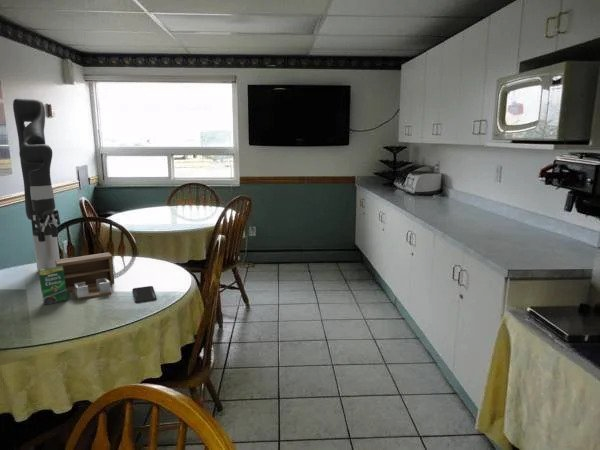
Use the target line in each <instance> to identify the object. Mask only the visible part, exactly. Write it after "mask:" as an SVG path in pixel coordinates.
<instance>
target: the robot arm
mask: <svg viewBox="0 0 600 450" xmlns="http://www.w3.org/2000/svg"><path fill="white" fill-rule="evenodd" d="M12 107H13V108H12V109H13V110H12V111H13V115H14V116H13V117H14V120H15V126H16V132H17V138H18V139H17V140H18V146H19V147H18V149H19V159H20V160H19V161H20V168H21V173H22V180H23V188H24V191H23V193H24V207H25V208H24V209H25V214H26V217H27V219H28V220H29V221H31V229H32V230H31V233H32V238H33V239H32V240H33V246H34V247H33V249H34V252H35V253H34V255H35V261H36V262H35V263H36V269H37V270H36V271H37V273H38V270H41V269H48V268H53V267H56V263H55V260H60V259H61V258H60V252H59V250H60V249H59V242H58V236H59V231H58V227H59V225H61V219H60V215H59V214H60V213H59V210H58V209H56V201H55V195H54V189H53V185H52V179H51V164H52V160H53V149H52V148H51V146H50V145H48V144H46V137H45V126H46V113H45V112H46V111H45V109H46V108H45V106H44V103H43V102H42V101H41V100H40V99H33V98H32V99H31V98H15V99H14V100H13V102H12ZM25 122H27V123H28V124H27V125H25Z"/></svg>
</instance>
